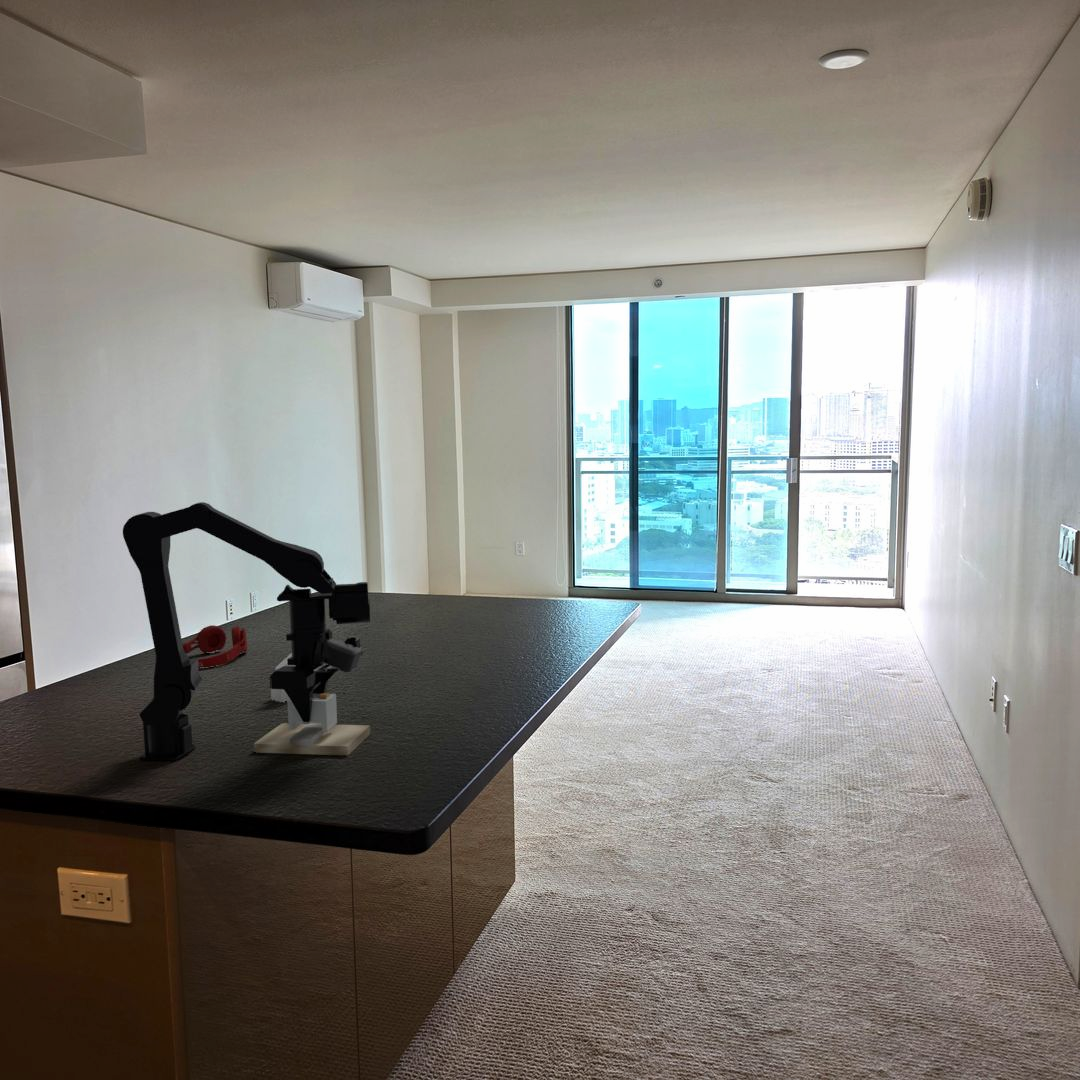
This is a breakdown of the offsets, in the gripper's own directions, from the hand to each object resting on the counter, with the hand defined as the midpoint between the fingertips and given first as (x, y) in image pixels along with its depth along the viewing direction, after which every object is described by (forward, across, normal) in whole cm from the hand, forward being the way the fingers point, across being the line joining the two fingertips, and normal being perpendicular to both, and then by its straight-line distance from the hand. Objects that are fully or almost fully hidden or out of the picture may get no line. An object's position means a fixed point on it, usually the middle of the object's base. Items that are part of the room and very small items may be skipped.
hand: (312, 717), depth 152 cm
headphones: (+5, +57, +49) cm, 76 cm away
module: (+2, 0, 0) cm, 2 cm away
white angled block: (+5, +27, +16) cm, 31 cm away
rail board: (+4, 0, 0) cm, 4 cm away
